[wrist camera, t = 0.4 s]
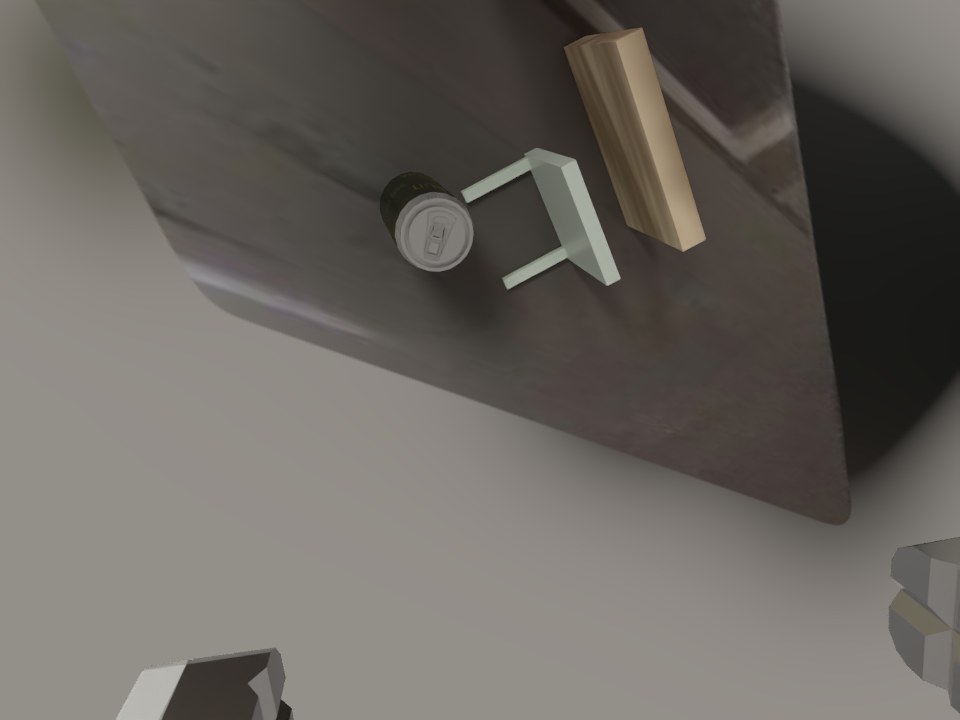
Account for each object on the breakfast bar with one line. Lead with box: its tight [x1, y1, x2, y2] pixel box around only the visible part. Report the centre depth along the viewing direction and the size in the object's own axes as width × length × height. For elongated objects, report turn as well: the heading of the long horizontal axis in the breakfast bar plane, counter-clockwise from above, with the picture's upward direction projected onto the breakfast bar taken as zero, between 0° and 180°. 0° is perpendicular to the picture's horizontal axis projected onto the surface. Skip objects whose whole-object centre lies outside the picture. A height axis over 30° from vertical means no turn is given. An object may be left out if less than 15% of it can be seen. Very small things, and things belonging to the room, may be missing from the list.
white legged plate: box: [461, 148, 621, 289], centre depth 54 cm, size 7×10×9 cm
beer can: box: [380, 172, 473, 272], centre depth 50 cm, size 5×5×12 cm
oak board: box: [563, 28, 706, 251], centre depth 52 cm, size 2×16×10 cm, turn 25°
